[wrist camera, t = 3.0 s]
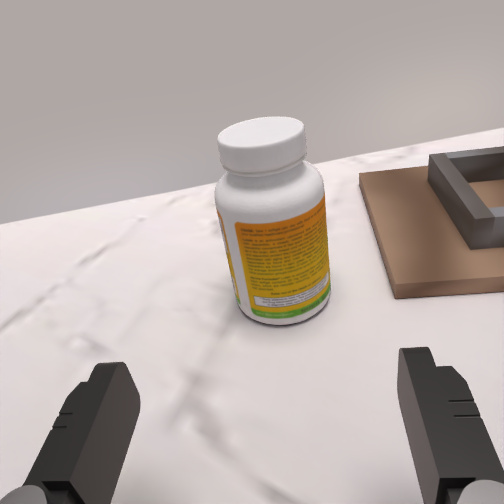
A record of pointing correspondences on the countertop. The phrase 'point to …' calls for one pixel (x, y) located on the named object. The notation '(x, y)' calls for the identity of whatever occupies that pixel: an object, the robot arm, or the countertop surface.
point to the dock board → (441, 223)
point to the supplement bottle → (273, 220)
